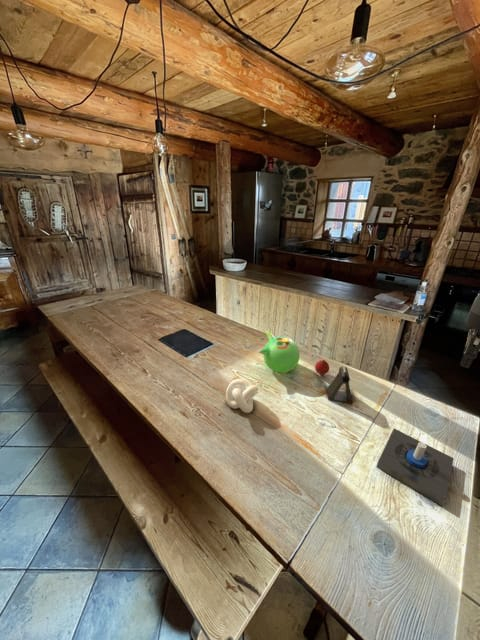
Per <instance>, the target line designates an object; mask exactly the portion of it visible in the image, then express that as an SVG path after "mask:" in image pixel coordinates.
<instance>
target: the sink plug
mask: <svg viewBox="0 0 480 640" xmlns="http://www.w3.org/2000/svg"><path fill="white" fill-rule="evenodd" d="M425 444H426V443H424V442H422V441H420V442H419V443H418V445H417V448H416V450H410V451H408V453H407V455H406V456H405V458H406V460H407V461H408V462H409V463H410V464H411V465H412V466H414V467H416V468H419V469H425V465H426V463H427V460H426V458H425V456H424V455H423V454H424V452H425V450H426V448H427V446H426V445H427V444H426V445H425Z"/></svg>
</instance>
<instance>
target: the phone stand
mask: <svg viewBox="0 0 480 640" xmlns="http://www.w3.org/2000/svg"><path fill="white" fill-rule="evenodd" d="M344 369H345V371H344ZM350 381H351V377H350V374H349V370H348V367H346V366H340V367H339V369H338V373H337V374H336V376H335V377H334V378H333V380H332V381H331V383H330V384H329V385H328V387H327V388H326V392H327V393H326V394H327V400H328V401H334V402H341V403H347V404H354V401H353V397H352V391H351V388H350ZM343 384H344V390H340V389H341V388H342V386H343Z"/></svg>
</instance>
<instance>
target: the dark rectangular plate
mask: <svg viewBox="0 0 480 640" xmlns="http://www.w3.org/2000/svg"><path fill="white" fill-rule="evenodd" d="M419 442H421V441H420V440H418V439H416V438H415V437H412V436H410V435H408V434H407V433H404V432H402V431H400V430H398V429H396V428H393V429H392V431H391V434H390V435H389V438H388V440H387V442H386V444H385V445H384V448H383V450H382V452H381V454H380V456H379V459H378V460H377V463H376V466H375V467H376V468H377V469H379V470H381V471H383V472H385V473H386V474H388V475H389V476H391V477H392V478H394V479H396V480H398V481H399V482H400V483H403V484H404V485H406V486H408V487H409V488H411V489H413V490H414V491H416V492H417V493H419V494H421V495H423V496H424V497H426V498H428V499H429V500H430V501H433V502H434V503H436V504H437V505H439V506H441V507H443V506H444V505H445V503H446V501H447V495H448V492H449V485H450V480H451V475H452V470H453V465H454V457H452V456H450V455H448V454H446V453H444V452H442V451H440V450H438V449H436V448H435V447H432V446H430V445H428V444H427V443H424V444H425V445H426V446H427V448H426V450H425V452H424V454H423V455H424V456H425V458H426V460H427V463H426V465H425V467H424V469H419V468H416V467H414V466H412V465H411V464H410V463H409V462H408V461H407V460H406V455H407V453H408V451H410V450H416V448H417V445H418V443H419Z"/></svg>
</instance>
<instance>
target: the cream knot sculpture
mask: <svg viewBox="0 0 480 640" xmlns="http://www.w3.org/2000/svg"><path fill="white" fill-rule="evenodd" d="M258 393H259V386H257V385H256V384H252V385H250V386H248V384H247V382H245V380H243V379H240V378H239V379H238V378H237V379H234V380H232V381H231V382H230V383H229V384H228V386H227V388H226V391H225V400H226V403H227V405H228V406H229V408H231V409H240V410H241V411H242V412H243V413H246V414H250V413H251V412H252V411H253V408H254V403H253V402H254V401H253V397H254V396H255V395H256V394H258Z"/></svg>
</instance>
